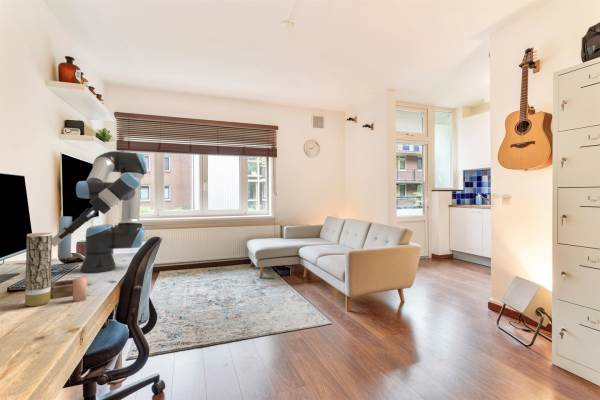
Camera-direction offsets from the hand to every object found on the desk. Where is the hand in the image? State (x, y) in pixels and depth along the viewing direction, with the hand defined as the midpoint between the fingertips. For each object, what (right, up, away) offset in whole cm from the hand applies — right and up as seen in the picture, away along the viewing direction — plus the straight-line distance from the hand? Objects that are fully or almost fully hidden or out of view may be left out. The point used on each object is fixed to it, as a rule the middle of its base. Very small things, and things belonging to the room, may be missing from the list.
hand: (52, 243), depth 114 cm
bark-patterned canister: (+2, -21, -9) cm, 22 cm away
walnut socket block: (+2, -20, +3) cm, 21 cm away
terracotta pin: (+13, -21, -4) cm, 25 cm away
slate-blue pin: (+3, -6, +2) cm, 7 cm away
